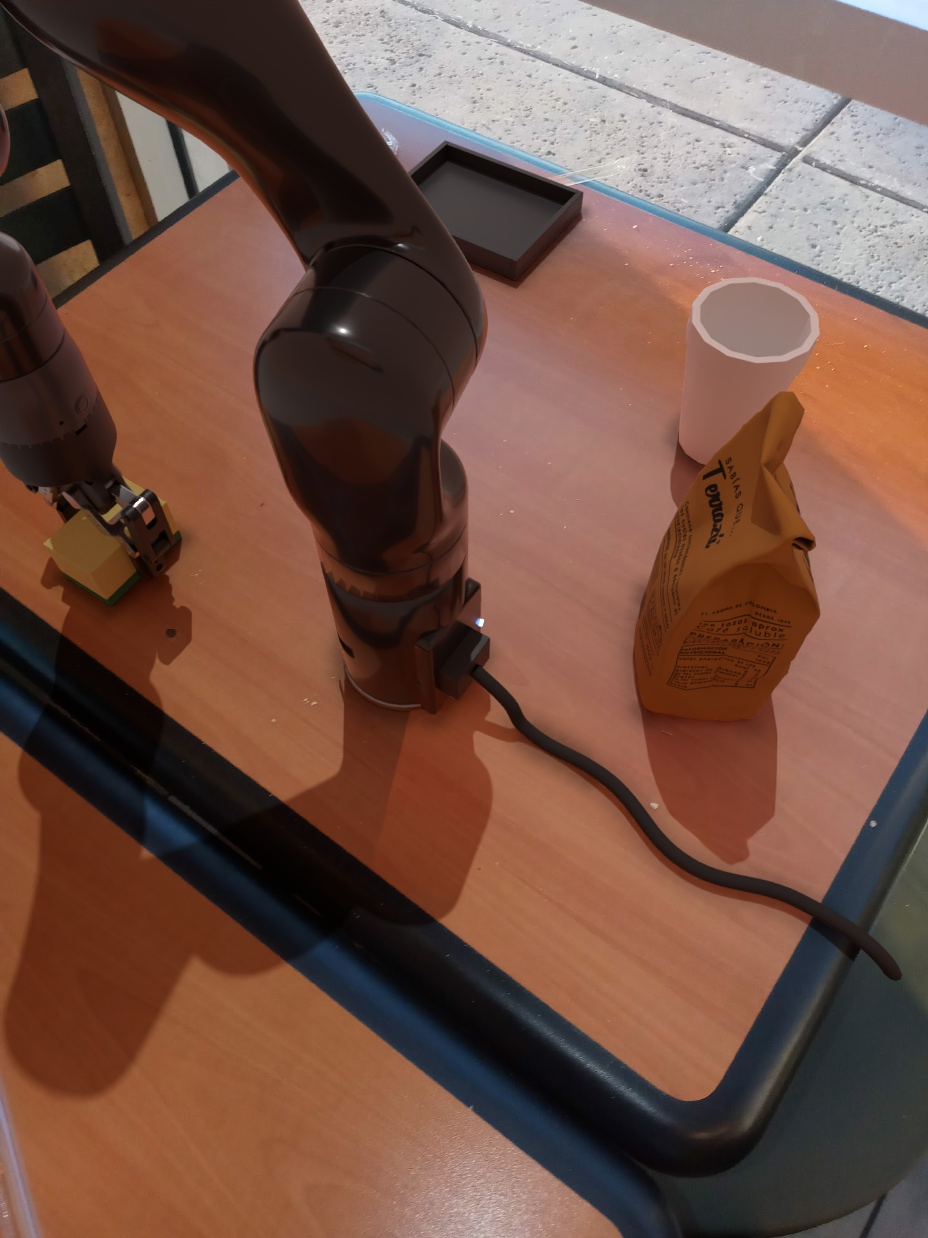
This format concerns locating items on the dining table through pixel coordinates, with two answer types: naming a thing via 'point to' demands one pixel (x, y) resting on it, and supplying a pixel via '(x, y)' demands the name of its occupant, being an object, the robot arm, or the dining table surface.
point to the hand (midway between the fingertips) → (120, 550)
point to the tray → (495, 207)
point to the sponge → (98, 554)
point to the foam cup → (740, 357)
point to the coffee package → (730, 580)
